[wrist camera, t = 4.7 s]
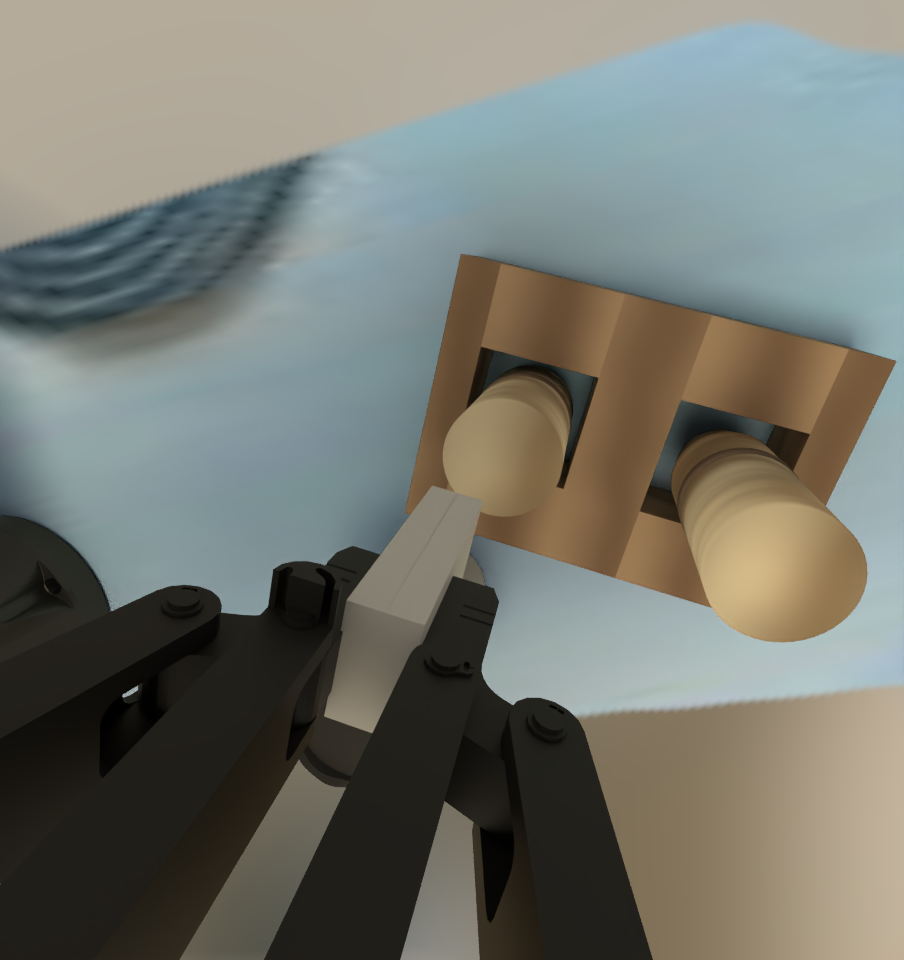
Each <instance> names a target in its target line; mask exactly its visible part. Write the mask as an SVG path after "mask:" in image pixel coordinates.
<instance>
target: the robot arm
mask: <svg viewBox="0 0 904 960" xmlns="http://www.w3.org/2000/svg"><path fill="white" fill-rule="evenodd" d="M482 504H483V500H480V499H476V498H473V497H469V496H466V495H463V494H459V493H456V492H452V491H449V490H446V489H442V488H439V487H435V486H432V487H431V488H430V489H429V491H428V492H427V493H426V495H425V496H424V497H423V499H422V500H421V501H420V503H419V504H418V505H417V507H416V508H415V509H414V511H413V512H412V513H411V515H410V516H409V517H408V519H407V520H406V521H405V523H404V524H403V525H402V527H401V528H400V529H399V531H398V532H397V533H396V535H395V536H394V537H393V539H392V540H391V541H390V543H389V544H388V545H387V547H386V548H385V549H384V551H383V552H382V553H381V555H380V554H377V553H374V552H370V551H367V550H364V549H361V548H358V547H354V546H352V547H349V548H347V549H344V550H342V551H339V552H337V553H336V554H335V555H334V556H333V557H332V558H331V559H330V560H329V561H328V563H327V565H325V566H324V565H322V564H318V563H313V562H308V561H294V562H290V563H285V564H282V565H280V566H278V567H277V568H275V569H273V576H272V583H271V591H270V598H269V605H268V607H267V608H266V609H265V611H264V612H263V613H262V614H261V615H257V616H251V615H237V614H228V613H221V607H222V605H221V602H220V599H219V597H218V596H217V595H215V594H214V593H213V592H212V591H210V590H207V589H204V588H202V587H198V586H191V585H179V586H170V587H166V588H163V589H160V590H157V591H155V592H153V593H150V594H148V595H146V596H144V597H142V598H140V599H137V600H135V601H133V602H131V603H129V604H127V605H125V606H122V607H120V608H118V609H116V610H114V611H112V612H109V610H108V606H107V603H106V600H105V597H104V595H103V592H102V590H101V588H100V586H99V584H98V582H97V580H96V578H95V577H94V575H93V574H92V572H91V571H90V569H89V568H88V566H87V565H86V564H85V562H84V561H83V560H82V559H81V558H80V556H79V555H78V554H77V553H76V552H75V551H74V550H73V549H72V548H71V547H70V546H69V545H67V544H66V543H65V542H64V541H63V540H61V539H60V538H59V537H57V536H56V535H55V534H53V533H52V532H50V531H48V530H47V529H45V528H43V527H41V526H39V525H37V524H35V523H32V522H30V521H27V520H24V519H20V518H16V517H8V516H0V960H179V959H180V958H181V956H182V954H183V953H184V951H185V949H186V948H187V946H188V944H189V943H190V941H191V939H192V938H193V936H194V934H195V933H196V930H197V929H198V927H199V926H200V924H201V922H202V921H203V919H204V917H205V916H206V914H207V912H208V911H209V909H210V907H211V906H212V904H213V902H214V901H215V899H216V897H217V896H218V894H219V892H220V891H221V889H222V887H223V885H224V884H225V882H226V880H227V879H228V877H229V875H230V874H231V872H232V870H233V869H234V867H235V865H236V864H237V862H238V860H239V859H240V857H241V855H242V854H243V852H244V850H245V849H246V847H247V845H248V844H249V842H250V840H251V839H252V837H253V835H254V834H255V832H256V830H257V828H258V827H259V825H260V823H261V822H262V820H263V818H264V817H265V815H266V813H267V811H268V810H269V808H270V806H271V805H272V803H273V802H274V800H275V798H276V797H277V795H278V793H279V791H280V790H281V788H282V787H283V785H284V783H285V782H286V780H287V778H288V776H289V775H290V773H291V771H292V770H293V768H294V766H295V765H296V763H297V761H298V759H299V758H300V756H301V755H302V753H303V751H304V750H305V748H306V746H307V745H308V743H309V741H310V740H311V738H312V736H313V734H314V730H315V727H316V722H317V717H318V712H319V711H320V709H321V707H322V706H323V704H324V703H325V701H326V699H327V698H328V699H327V705H326V710H325V715H324V717H327V718H330V719H333V720H336V721H339V722H342V723H344V724H347V725H350V726H353V727H356V728H359V729H362V730H364V731H367V732H370V733H372V735H371V737H370V739H369V741H368V743H367V745H366V747H365V749H364V752H363V754H362V756H361V758H360V760H359V762H358V764H357V766H356V768H355V770H354V772H353V775H352V777H351V779H350V781H349V783H348V785H347V787H346V789H345V791H344V793H343V796H342V798H341V800H340V802H339V804H338V806H337V808H336V810H335V812H334V815H333V816H332V819H331V821H330V823H329V825H328V827H327V829H326V831H325V833H324V835H323V837H322V840H321V842H320V844H319V846H318V848H317V850H316V852H315V854H314V856H313V858H312V861H311V863H310V865H309V867H308V869H307V871H306V873H305V875H304V877H303V879H302V881H301V884H300V885H299V888H298V890H297V892H296V894H295V896H294V898H293V900H292V902H291V904H290V906H289V908H288V911H287V913H286V915H285V917H284V919H283V921H282V923H281V925H280V927H279V930H278V931H277V934H276V936H275V938H274V940H273V942H272V944H271V946H270V948H269V950H268V953H267V954H266V957H265V959H264V960H400V958H401V955H402V951H403V948H404V944H405V940H406V937H407V933H408V930H409V926H410V923H411V919H412V915H413V912H414V908H415V905H416V901H417V897H418V894H419V890H420V887H421V883H422V879H423V876H424V872H425V868H426V865H427V861H428V857H429V854H430V851H431V847H432V844H433V840H434V836H435V832H436V829H437V826H438V822H439V818H440V815H441V811H442V807H443V804H444V801H445V802H447V803H448V804H450V805H451V806H452V807H454V808H455V809H456V810H458V811H459V812H461V813H462V814H463V815H465V816H466V817H468V818H469V819H470V820H472V821H473V822H474V824H473V829H472V836H473V853H474V867H475V868H474V869H475V886H476V903H477V920H478V937H479V953H480V960H653V959H652V955H651V952H650V949H649V946H648V942H647V939H646V936H645V932H644V929H643V925H642V922H641V919H640V915H639V912H638V909H637V905H636V902H635V899H634V895H633V892H632V889H631V886H630V882H629V879H628V875H627V872H626V869H625V865H624V862H623V859H622V855H621V852H620V849H619V845H618V842H617V839H616V836H615V832H614V829H613V825H612V822H611V819H610V816H609V812H608V809H607V805H606V802H605V799H604V795H603V792H602V789H601V785H600V782H599V779H598V775H597V772H596V769H595V765H594V762H593V759H592V755H591V752H590V749H589V745H588V742H587V739H586V735H585V732H584V730H583V728H582V726H581V724H580V722H579V720H578V719H577V718H576V717H575V716H574V715H573V714H572V713H570V712H569V711H568V710H567V709H565V708H564V707H562V706H560V705H558V704H557V703H555V702H552V701H549V700H545V699H542V698H526V699H523V700H520V701H517V702H516V703H515V704H514V705H511V704H510V703H508V702H507V701H505V700H503V699H502V698H501V697H499V696H498V695H496V694H495V693H494V692H493V691H492V690H491V689H490V688H489V687H488V685H487V684H486V682H485V680H484V679H483V675H482V672H481V669H482V662H483V658H484V655H485V651H486V647H487V644H488V640H489V636H490V633H491V629H492V626H493V622H494V618H495V615H496V611H497V607H498V604H499V601H498V598H497V596H496V593H495V591H494V588H491V587H488V586H484V585H481V584H478V583H475V582H472V581H468V580H465V579H463V575H464V571H465V567H466V564H467V560H468V556H469V552H470V549H471V545H472V541H473V537H474V534H475V530H476V526H477V522H478V519H479V515H480V511H481V508H482ZM136 686H138V691H136V692H135V693H133V694H131V695H130V696H127V697H124V698H123V697H122V695H123V694H124V693H126V692H128V691H129V690H131V689H133V688H134V687H136Z"/></svg>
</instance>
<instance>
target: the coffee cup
mask: <svg viewBox="0 0 904 960" xmlns="http://www.w3.org/2000/svg"><path fill="white" fill-rule="evenodd" d="M463 579H465V580H468V581H472V582H475V583H478V584H481V585H484V586H485V582H484V577H483V574H482V571H481V569H480V567H479V565H478V563H477V562H476V560H475V559H474V558H473V557H472V555H471V554H470V553H469V556H468V560H467V564H466V567H465V571H464V575H463ZM327 699H328V698H327ZM327 699H326V701H325V703H324V704H323V706H322V707H321V709H320V711H319V712H318V717H317V722H316V727H315V730H314V734H313V736H312V738H311V740H310V741H309V743H308V745H307V746H306V748H305V750H304V751H303V753H302V755H301V756H300V758H299V760H300V761H301V763H302V764H303V766H304V767H305V768H306V769H307V770H308V771H309V772H310V773H312V774H313V775H314V776H315V777H316V778H318V779H319V780H320V781H322V782H324V783H325V784H328V785H331V786H334V787H347V785H348V783H349V781H350V779H351V777H352V775H353V772H354V770H355V768H356V766H357V764H358V762H359V760H360V758H361V756H362V754H363V752H364V749H365V747H366V745H367V743H368V741H369V739H370V737H371V735H372V733H370V732H367V731H364V730H362V729H359V728H356V727H353V726H350V725H347V724H344V723H342V722H339V721H336V720H333V719H330V718H327V717H324V715H325V710H326V705H327Z"/></svg>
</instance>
